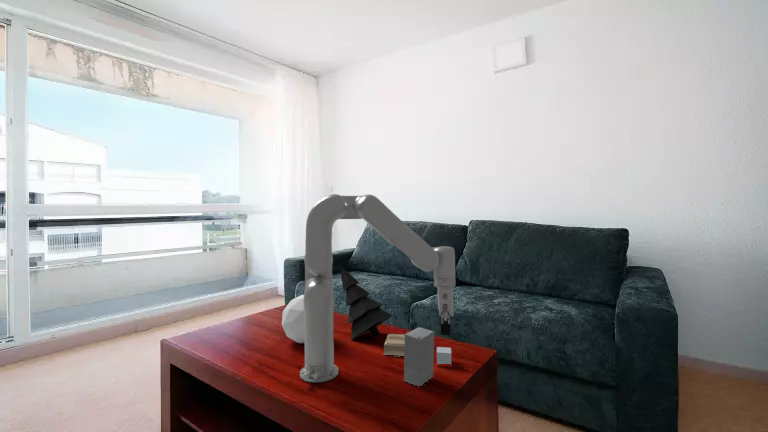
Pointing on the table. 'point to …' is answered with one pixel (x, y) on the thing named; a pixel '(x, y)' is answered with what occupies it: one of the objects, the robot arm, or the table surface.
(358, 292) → the decorative tree
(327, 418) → the table surface
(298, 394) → the table surface
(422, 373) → the skincare box
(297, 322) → the geometric sculpture
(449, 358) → the block
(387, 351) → the plinth
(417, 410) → the table surface
